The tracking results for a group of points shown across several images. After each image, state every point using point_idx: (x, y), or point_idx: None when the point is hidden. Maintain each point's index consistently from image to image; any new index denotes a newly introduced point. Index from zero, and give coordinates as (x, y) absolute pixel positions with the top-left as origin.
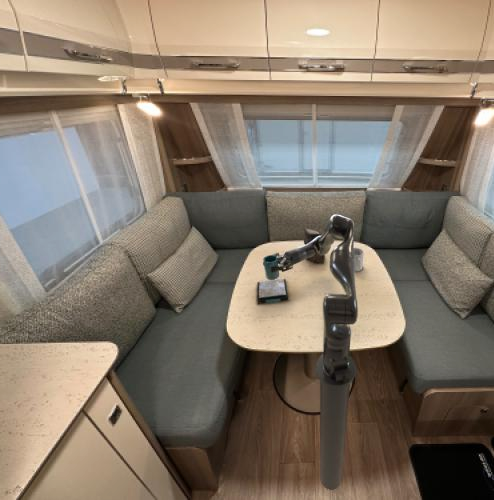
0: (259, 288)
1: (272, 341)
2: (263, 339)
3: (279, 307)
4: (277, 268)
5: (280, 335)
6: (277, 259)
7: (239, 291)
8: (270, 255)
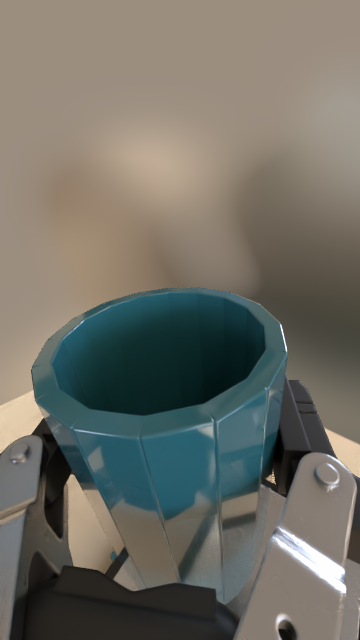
0: (275, 494)
1: (30, 403)
2: None
3: (93, 525)
4: (41, 425)
5: (13, 430)
6: (38, 405)
7: (340, 437)
8: (263, 367)
